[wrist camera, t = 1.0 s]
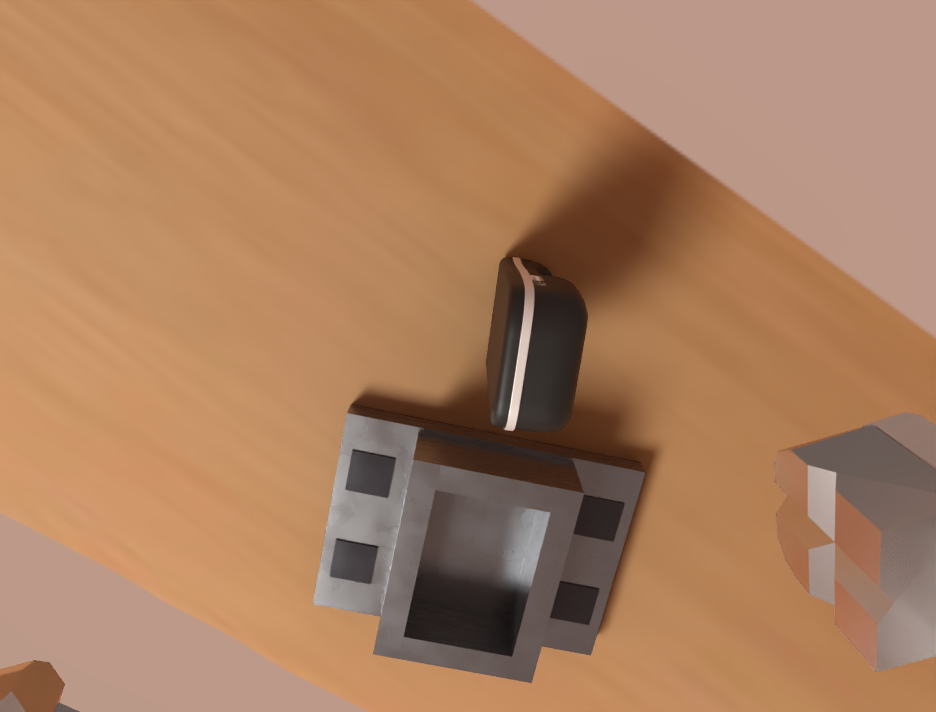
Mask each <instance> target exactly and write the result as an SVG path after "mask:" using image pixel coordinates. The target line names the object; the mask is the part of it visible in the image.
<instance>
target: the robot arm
mask: <svg viewBox="0 0 936 712" xmlns="http://www.w3.org/2000/svg"><path fill="white" fill-rule="evenodd" d="M774 472H775V483H776V484H777V485H778V486H779V487H780V488H781V489H782V490H783V491H784V492H785V493H786V494H787V497H786V499H785V500H784V502H783V503H782V505H781V507H780V508H779V510H778V511H777V513H776V521H777V533H778V540H779V543H780V545H781V548H782V551H783V554H784V557H785V560H786V562H787V564H788V566H789V567H790V569H791V571H792V572H793V574H794V576H795V577H796V579H797V580H798V581H799V582H800V584H801V585H802V586H803V587H804V589H805V590H806V591H807V592H808V593H809V595H812V596H814V597H816V598H819V599H821V600H824V601H826V602H829V603H831V604H833V605H835V625H836V626H837V628H838V629H839V630H840V631H841V632H842V633H843V634H844V636H845V637H846V638H847V639H848V640H849V641H850V643H851V644H852V645H853V646H854V647H855V648H856V650H857V651H858V652H859V653H860V654H861V655H862V656H863V658H864V659H865V660H866V661H867V662H868V663H869V665H870V666H871V667H872V668H873V669H874V670H875V672H880V671H883V670H887V669H891V668H894V667H898V666H902V665H905V664H909V663H913V662H916V661H920V660H924V659H927V658H931V657H935V656H936V425H935V424H933V423H931V422H930V421H928V420H927V419H925V418H924V417H922V416H920V415H917V414H912V413H907V412H904V413H901V414H898V415H895V416H891V417H888V418H885V419H882V420H878V421H875V422H872V423H869V424H866V425H863V426H862V427H861V428H857V429H853V430H850V431H846V432H843V433H839V434H836V435H832V436H829V437H825V438H822V439H818V440H815V441H812V442H808V443H805V444H801V445H798V446H794V447H791V448H787V449H784V450H780V451H778V454H777V457H776V460H775V463H774ZM64 686H65V684H64V682H63V681H62V679H61V678H60V677H59V675H58V674H57V672H56V671H55V670H54V668H53V667H52V665H51V664H50V663H49V662H43V661H36V660H34V661H30V662H26V663H22V664H18V665H15V666H11V667H7V668H3V669H0V712H79V711H77V710H75V709H72V708H70V707H68V706H66V705H63V704H61V703H60V699H61V696H62V692H63V689H64Z"/></svg>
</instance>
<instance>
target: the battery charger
mask: <svg viewBox="0 0 936 712" xmlns="http://www.w3.org/2000/svg"><path fill="white" fill-rule="evenodd" d="M587 320H588V313H587V309H586V306H585V302H584V300H583V298H582V296H581V294H580V293H579V291H578V290H577V289H576V287H575V286H574V285H573V284H572V283H570V282H569V281H567V280H565V279H562V278H557V277H552V275H551V273H550V271H549V270H548V269H547V268H546V267H544V266H543V265H541V264H538V263H535V262H533V261H528V260H521V259H520V258H517V257H512V258H503V259H502V260H501V261H500V264H499V272H498V279H497V286H496V293H495V300H494V308H493V315H492V322H491V330H490V337H489V344H488V352H487V359H486V366H487V378H488V399H489V412H490V420H491V423H492V425H494V426H496V427H501V428H504V430H509V431H514V429H518V430H526V431H535V432H554V431H557V430H561V429H562V428H563V427H564V426H565V425H566V424H567V423H568V421H569V419H570V417H571V414H572V409H573V403H574V398H575V392H576V386H577V381H578V375H579V369H580V364H581V358H582V352H583V346H584V340H585V334H586V328H587Z"/></svg>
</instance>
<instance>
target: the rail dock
mask: <svg viewBox="0 0 936 712" xmlns="http://www.w3.org/2000/svg"><path fill="white" fill-rule="evenodd" d="M645 473H646V472H645V471H644V469H643V467H642V465H641V463H640V462H636V461H631V460H626V459H621V458H616V457H611V456H606V455H601V454H596V453H591V452H586V451H581V450H576V449H571V448H566V447H561V446H556V445H551V444H546V443H541V442H536V441H531V440H526V439H521V438H516V437H511V436H506V435H501V434H496V433H491V432H486V431H481V430H476V429H471V428H466V427H461V426H456V425H451V424H446V423H441V422H436V421H431V420H426V419H421V418H416V417H411V416H406V415H401V414H395V413H390V412H385V411H380V410H375V409H370V408H365V407H360V406H355V405H351V406H350V408H349V410H348V412H347V415H346V421H345V427H344V432H343V438H342V444H341V449H340V455H339V460H338V466H337V472H336V477H335V483H334V489H333V494H332V500H331V505H330V511H329V517H328V522H327V528H326V534H325V539H324V545H323V550H322V556H321V562H320V567H319V573H318V579H317V584H316V590H315V596H314V601H313V604H316V605H321V606H326V607H332V608H337V609H343V610H348V611H353V612H359V613H364V614H370V615H375V616H380V621H379V626H378V632H377V637H376V642H375V647H374V652H373V654H375V655H380V656H386V657H391V658H397V659H402V660H408V661H414V662H419V663H425V664H430V665H436V666H441V667H447V668H452V669H458V670H463V671H469V672H474V673H480V674H485V675H491V676H496V677H502V678H507V679H513V680H518V681H524V682H529V683H532V680H533V676H534V672H535V669H536V665H537V662H538V658H539V654H540V651H541V647H542V646H543V647H549V648H554V649H559V650H565V651H570V652H576V653H581V654H586V655H591V653H592V650H593V646H594V643H595V640H596V636H597V633H598V630H599V626H600V623H601V620H602V616H603V613H604V610H605V606H606V603H607V599H608V596H609V593H610V589H611V586H612V583H613V579H614V576H615V573H616V569H617V566H618V563H619V559H620V556H621V553H622V549H623V546H624V543H625V539H626V536H627V533H628V529H629V526H630V523H631V519H632V516H633V513H634V509H635V506H636V503H637V499H638V496H639V493H640V489H641V486H642V483H643V479H644V476H645Z"/></svg>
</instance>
